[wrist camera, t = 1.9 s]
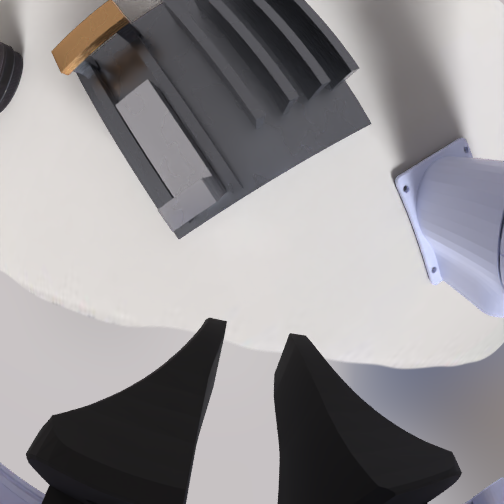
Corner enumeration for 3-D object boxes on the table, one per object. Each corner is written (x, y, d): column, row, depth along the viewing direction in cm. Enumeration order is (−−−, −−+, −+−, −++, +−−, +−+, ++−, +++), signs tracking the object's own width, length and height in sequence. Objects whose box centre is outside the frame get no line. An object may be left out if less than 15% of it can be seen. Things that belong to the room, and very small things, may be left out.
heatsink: (364, 125, 15) (398, 116, 11) (183, 234, 18) (160, 258, 13) (240, -28, 12) (237, -65, 7) (82, 73, 14) (45, 58, 9)
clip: (227, 191, 16) (216, 202, 11) (193, 213, 16) (172, 231, 12) (155, 84, 14) (125, 63, 9) (125, 108, 14) (88, 96, 10)
